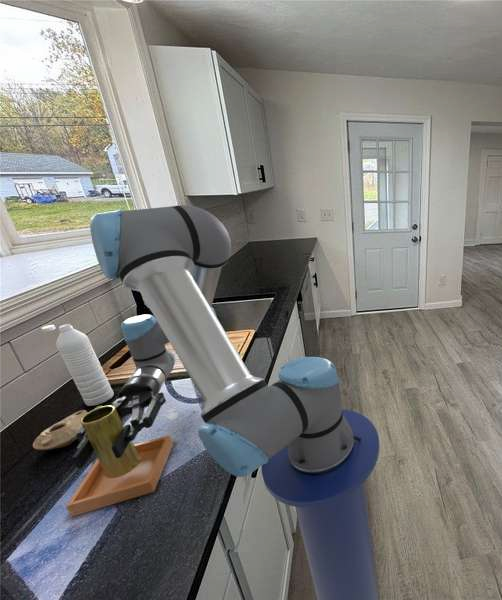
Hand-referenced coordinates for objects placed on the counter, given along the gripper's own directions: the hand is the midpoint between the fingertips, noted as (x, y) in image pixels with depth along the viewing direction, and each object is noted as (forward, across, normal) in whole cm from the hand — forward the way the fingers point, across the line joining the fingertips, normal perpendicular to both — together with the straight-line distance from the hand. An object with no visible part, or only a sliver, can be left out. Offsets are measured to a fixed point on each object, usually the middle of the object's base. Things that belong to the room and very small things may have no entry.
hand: (97, 457), depth 60 cm
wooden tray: (-5, 0, -11) cm, 12 cm away
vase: (-5, 0, -8) cm, 10 cm away
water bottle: (-42, +21, -11) cm, 48 cm away
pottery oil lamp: (-25, +19, -11) cm, 33 cm away
